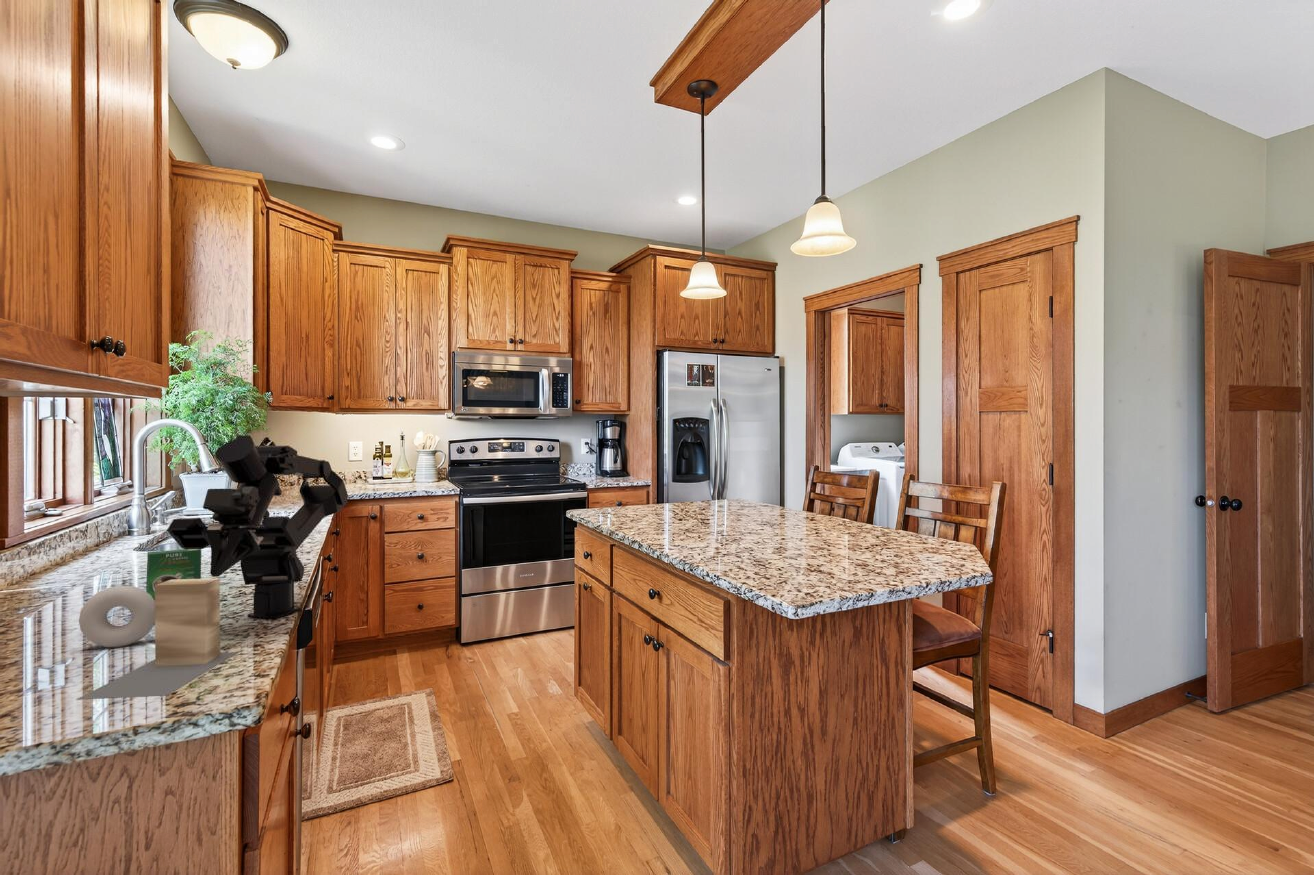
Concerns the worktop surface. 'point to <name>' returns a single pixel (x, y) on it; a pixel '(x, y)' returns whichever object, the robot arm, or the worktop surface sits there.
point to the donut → (111, 635)
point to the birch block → (187, 621)
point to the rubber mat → (154, 679)
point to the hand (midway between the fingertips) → (214, 575)
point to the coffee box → (172, 567)
